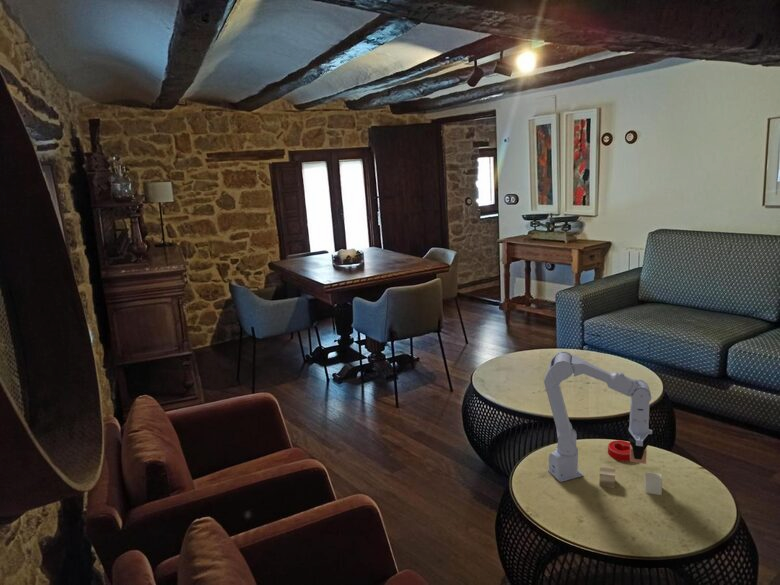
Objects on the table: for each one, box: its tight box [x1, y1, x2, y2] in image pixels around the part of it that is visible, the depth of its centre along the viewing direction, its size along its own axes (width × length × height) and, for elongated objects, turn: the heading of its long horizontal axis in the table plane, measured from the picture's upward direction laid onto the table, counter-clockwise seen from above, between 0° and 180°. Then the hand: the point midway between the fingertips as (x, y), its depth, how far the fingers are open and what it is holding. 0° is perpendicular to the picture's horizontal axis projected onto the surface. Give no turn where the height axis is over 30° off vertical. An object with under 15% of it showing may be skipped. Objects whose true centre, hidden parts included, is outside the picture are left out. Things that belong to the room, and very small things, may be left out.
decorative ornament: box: [607, 439, 630, 462], centre depth 199 cm, size 10×10×3 cm
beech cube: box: [598, 465, 616, 488], centre depth 183 cm, size 5×5×5 cm
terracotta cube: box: [629, 444, 648, 465], centre depth 180 cm, size 5×5×5 cm
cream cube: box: [644, 471, 663, 496], centre depth 177 cm, size 5×5×5 cm
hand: (637, 454), depth 180 cm, fingers closed on terracotta cube, 5 cm apart
